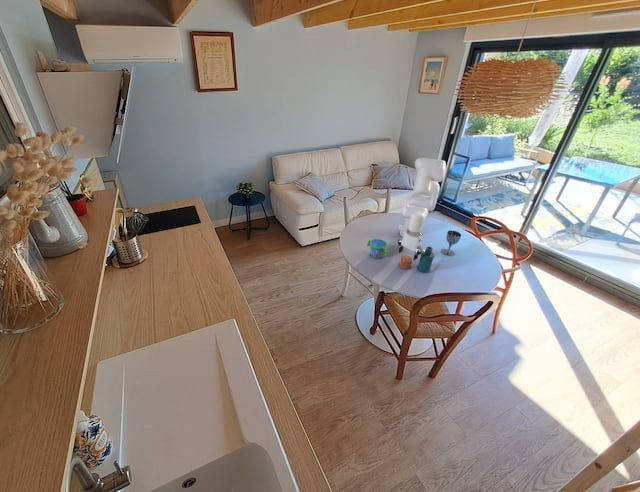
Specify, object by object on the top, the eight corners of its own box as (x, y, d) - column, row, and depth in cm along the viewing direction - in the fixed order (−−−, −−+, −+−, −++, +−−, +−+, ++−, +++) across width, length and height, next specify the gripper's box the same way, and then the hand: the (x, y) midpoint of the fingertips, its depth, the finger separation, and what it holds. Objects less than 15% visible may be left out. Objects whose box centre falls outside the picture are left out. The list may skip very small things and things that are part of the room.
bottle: (415, 268, 178) (421, 247, 170) (421, 264, 182) (427, 243, 174) (425, 274, 173) (432, 252, 166) (431, 269, 177) (438, 248, 169)
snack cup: (362, 251, 195) (364, 239, 190) (374, 247, 199) (376, 235, 194) (378, 264, 182) (380, 251, 177) (390, 259, 186) (393, 246, 181)
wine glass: (456, 256, 189) (463, 237, 181) (443, 255, 190) (449, 236, 183) (452, 249, 195) (458, 231, 188) (439, 248, 197) (445, 230, 189)
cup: (397, 265, 181) (399, 257, 178) (403, 261, 185) (404, 253, 182) (406, 270, 177) (408, 262, 174) (412, 266, 180) (414, 258, 177)
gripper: (431, 235, 164) (424, 260, 172) (403, 224, 176) (398, 247, 184) (424, 240, 160) (417, 264, 168) (397, 228, 172) (391, 251, 180)
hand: (407, 255), depth 176 cm, fingers open, 9 cm apart
